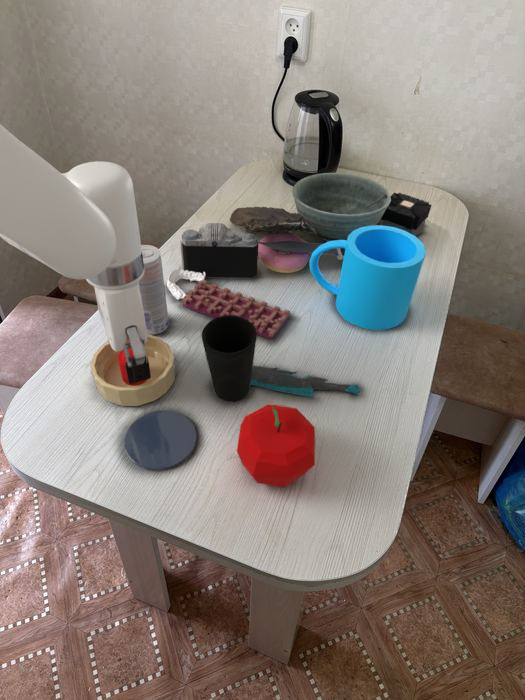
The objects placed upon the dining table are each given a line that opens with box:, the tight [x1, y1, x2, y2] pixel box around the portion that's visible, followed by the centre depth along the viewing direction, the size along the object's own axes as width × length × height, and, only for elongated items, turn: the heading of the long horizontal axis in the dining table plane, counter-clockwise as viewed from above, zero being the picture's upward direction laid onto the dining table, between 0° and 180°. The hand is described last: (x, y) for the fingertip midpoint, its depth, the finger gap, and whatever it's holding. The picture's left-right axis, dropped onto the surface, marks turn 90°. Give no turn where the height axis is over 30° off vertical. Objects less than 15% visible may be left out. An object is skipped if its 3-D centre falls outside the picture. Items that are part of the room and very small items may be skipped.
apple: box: [236, 399, 316, 488], centre depth 66 cm, size 11×11×10 cm
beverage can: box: [138, 244, 170, 336], centre depth 83 cm, size 6×6×15 cm
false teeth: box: [166, 267, 206, 300], centre depth 96 cm, size 8×6×2 cm
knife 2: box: [250, 365, 362, 399], centre depth 80 cm, size 24×1×5 cm
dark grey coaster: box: [123, 409, 197, 471], centre depth 71 cm, size 10×10×1 cm
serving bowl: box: [90, 334, 176, 407], centre depth 78 cm, size 12×12×4 cm
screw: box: [364, 194, 388, 209], centre depth 103 cm, size 8×1×1 cm, turn 137°
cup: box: [201, 315, 258, 403], centre depth 74 cm, size 8×8×12 cm
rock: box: [229, 206, 316, 235], centre depth 104 cm, size 25×4×15 cm
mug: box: [308, 224, 426, 331], centre depth 91 cm, size 20×13×13 cm
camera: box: [179, 222, 259, 280], centre depth 98 cm, size 15×7×10 cm, turn 92°
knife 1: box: [258, 241, 345, 261], centre depth 101 cm, size 30×2×5 cm
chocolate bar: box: [182, 279, 291, 341], centre depth 92 cm, size 7×19×2 cm, turn 62°
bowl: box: [291, 172, 391, 242], centre depth 110 cm, size 21×21×10 cm
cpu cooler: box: [378, 192, 432, 237], centre depth 115 cm, size 10×6×10 cm
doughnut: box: [258, 231, 311, 274], centre depth 103 cm, size 11×11×4 cm
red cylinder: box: [118, 348, 148, 386], centre depth 77 cm, size 4×4×6 cm
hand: (131, 358), depth 76 cm, fingers open, 9 cm apart
